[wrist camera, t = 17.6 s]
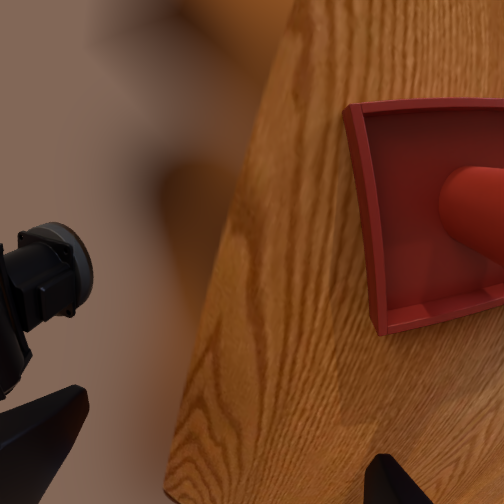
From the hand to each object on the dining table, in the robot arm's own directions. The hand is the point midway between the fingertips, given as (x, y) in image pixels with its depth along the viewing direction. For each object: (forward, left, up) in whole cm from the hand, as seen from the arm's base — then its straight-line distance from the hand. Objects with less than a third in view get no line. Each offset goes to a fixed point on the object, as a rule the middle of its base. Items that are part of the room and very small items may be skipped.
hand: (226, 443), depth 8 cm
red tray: (+12, +8, -13) cm, 19 cm away
